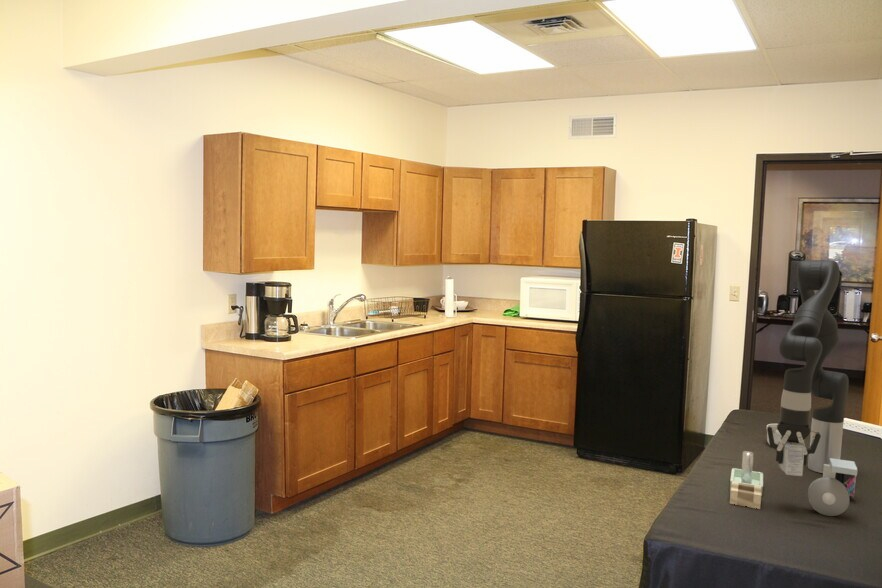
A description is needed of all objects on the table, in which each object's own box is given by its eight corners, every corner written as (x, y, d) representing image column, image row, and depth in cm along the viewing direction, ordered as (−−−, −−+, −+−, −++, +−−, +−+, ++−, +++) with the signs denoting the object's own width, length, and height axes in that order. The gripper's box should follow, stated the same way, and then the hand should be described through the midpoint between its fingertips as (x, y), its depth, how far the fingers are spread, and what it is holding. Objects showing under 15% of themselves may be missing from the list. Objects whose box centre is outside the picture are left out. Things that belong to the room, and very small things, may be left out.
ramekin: (806, 446, 264) (808, 427, 263) (802, 454, 253) (804, 435, 252) (767, 439, 271) (769, 421, 270) (762, 447, 260) (764, 429, 259)
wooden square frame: (730, 494, 210) (731, 481, 210) (760, 499, 207) (761, 486, 207) (729, 503, 203) (730, 490, 203) (760, 509, 200) (761, 495, 200)
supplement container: (831, 499, 210) (834, 465, 209) (825, 491, 216) (828, 458, 215) (856, 503, 208) (860, 468, 207) (850, 495, 214) (853, 461, 213)
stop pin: (741, 482, 220) (743, 450, 219) (751, 483, 219) (753, 452, 218) (740, 485, 217) (742, 453, 216) (751, 486, 216) (753, 454, 215)
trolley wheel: (805, 504, 205) (810, 455, 204) (849, 511, 201) (854, 461, 199) (807, 513, 198) (811, 462, 196) (852, 522, 193) (857, 469, 192)
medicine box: (802, 476, 197) (805, 446, 197) (785, 475, 198) (788, 444, 197) (794, 467, 205) (797, 438, 204) (778, 466, 206) (780, 437, 205)
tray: (731, 477, 226) (732, 467, 226) (762, 482, 222) (763, 472, 222) (729, 491, 213) (730, 481, 213) (762, 496, 210) (763, 486, 209)
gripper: (823, 407, 200) (818, 465, 202) (767, 400, 206) (762, 457, 208) (825, 412, 194) (820, 473, 195) (767, 405, 199) (762, 464, 201)
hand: (790, 464), depth 201 cm, fingers closed on medicine box, 5 cm apart
